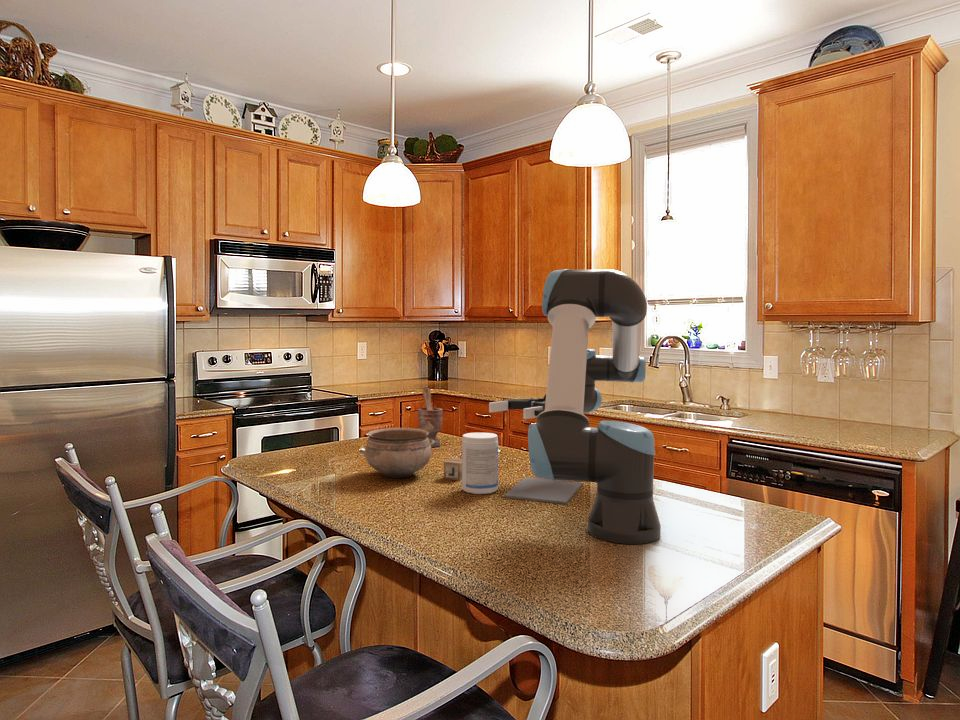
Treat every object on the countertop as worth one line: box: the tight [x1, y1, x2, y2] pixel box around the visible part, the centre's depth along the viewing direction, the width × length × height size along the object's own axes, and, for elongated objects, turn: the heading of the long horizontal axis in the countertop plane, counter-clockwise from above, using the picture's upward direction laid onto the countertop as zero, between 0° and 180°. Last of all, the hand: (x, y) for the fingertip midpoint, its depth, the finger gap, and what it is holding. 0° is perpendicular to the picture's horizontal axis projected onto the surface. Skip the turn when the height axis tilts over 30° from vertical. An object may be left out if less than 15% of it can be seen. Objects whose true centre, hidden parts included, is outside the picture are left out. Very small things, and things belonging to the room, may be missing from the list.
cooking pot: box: [358, 427, 435, 479], centre depth 185 cm, size 25×19×12 cm
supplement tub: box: [461, 431, 499, 495], centre depth 170 cm, size 10×10×15 cm
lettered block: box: [443, 457, 462, 482], centre depth 184 cm, size 6×5×5 cm
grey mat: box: [503, 476, 583, 505], centre depth 171 cm, size 20×16×1 cm
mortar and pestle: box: [417, 387, 443, 448], centre depth 230 cm, size 12×9×20 cm
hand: (506, 410), depth 175 cm, fingers open, 13 cm apart
